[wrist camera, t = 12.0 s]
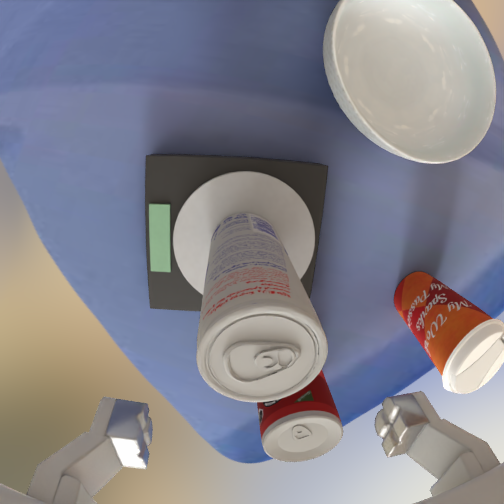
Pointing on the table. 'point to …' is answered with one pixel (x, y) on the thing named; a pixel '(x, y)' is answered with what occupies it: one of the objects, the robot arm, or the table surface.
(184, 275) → the scale
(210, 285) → the beverage can
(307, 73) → the table surface
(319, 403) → the canned food
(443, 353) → the paper cup
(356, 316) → the table surface
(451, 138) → the cereal bowl
